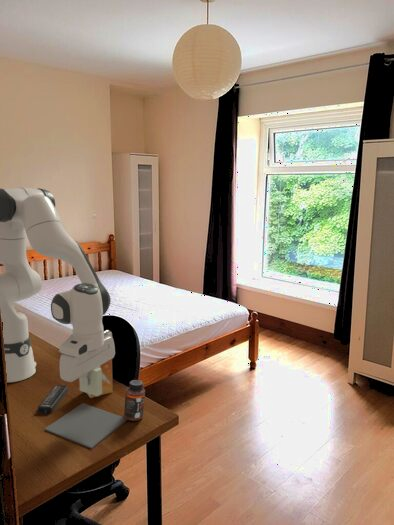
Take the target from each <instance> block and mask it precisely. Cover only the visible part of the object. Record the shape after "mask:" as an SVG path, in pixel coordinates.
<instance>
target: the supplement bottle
mask: <svg viewBox="0 0 394 525" xmlns="http://www.w3.org/2000/svg"><path fill="white" fill-rule="evenodd" d="M143 386H144V383H143V381H142V380H138V379H132V380H131V381H129V386H128V387H127V388H126V390H125V398H124V399H125V400H124V410H123V411H124V412H123V417H125V418H126V419H127V421H132V422H133V421H140V420H141V419H143V417H144V410H145V400H146V399H145V397H146V389H145V388H144V387H143Z"/></svg>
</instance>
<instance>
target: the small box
mask: <svg viewBox="0 0 394 525" xmlns="http://www.w3.org/2000/svg"><path fill="white" fill-rule="evenodd" d="M100 368H101V372H102V394H101V395H99V396H95V395H92V394H89V393H86V395H88V397H89V398H90V399H93V398H96V397H100V396H103V395H107V394H111V393H113V358H112V359H110V360H108V361H107V362H105V363H103V364H102V365H100Z"/></svg>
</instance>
